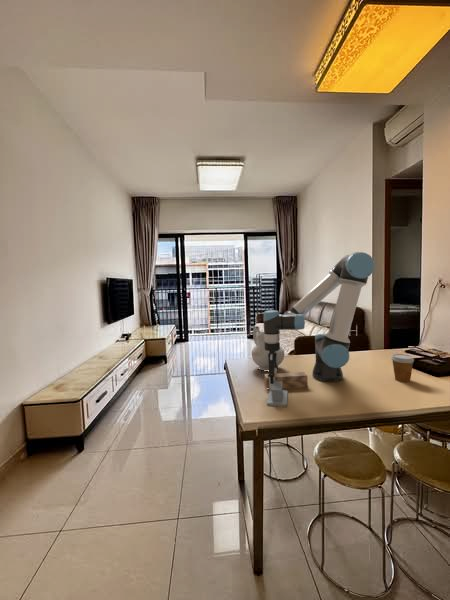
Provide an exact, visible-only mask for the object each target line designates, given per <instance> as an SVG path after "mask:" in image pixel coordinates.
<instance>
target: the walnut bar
mask: <svg viewBox="0 0 450 600" xmlns="http://www.w3.org/2000/svg"><path fill="white" fill-rule="evenodd" d="M268 375H269V373H264V386H266V387H265V389H266V388H269V377H268ZM274 375H275V381H280V382H283V389H296V388H297V389H298V387H299V388H308V385H309V384H308V383H309V382H308V374H307V373H306V371H302V372H301V371H299V372H298V371H297V372H280V373H278V372H277V373H275V374H274Z"/></svg>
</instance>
